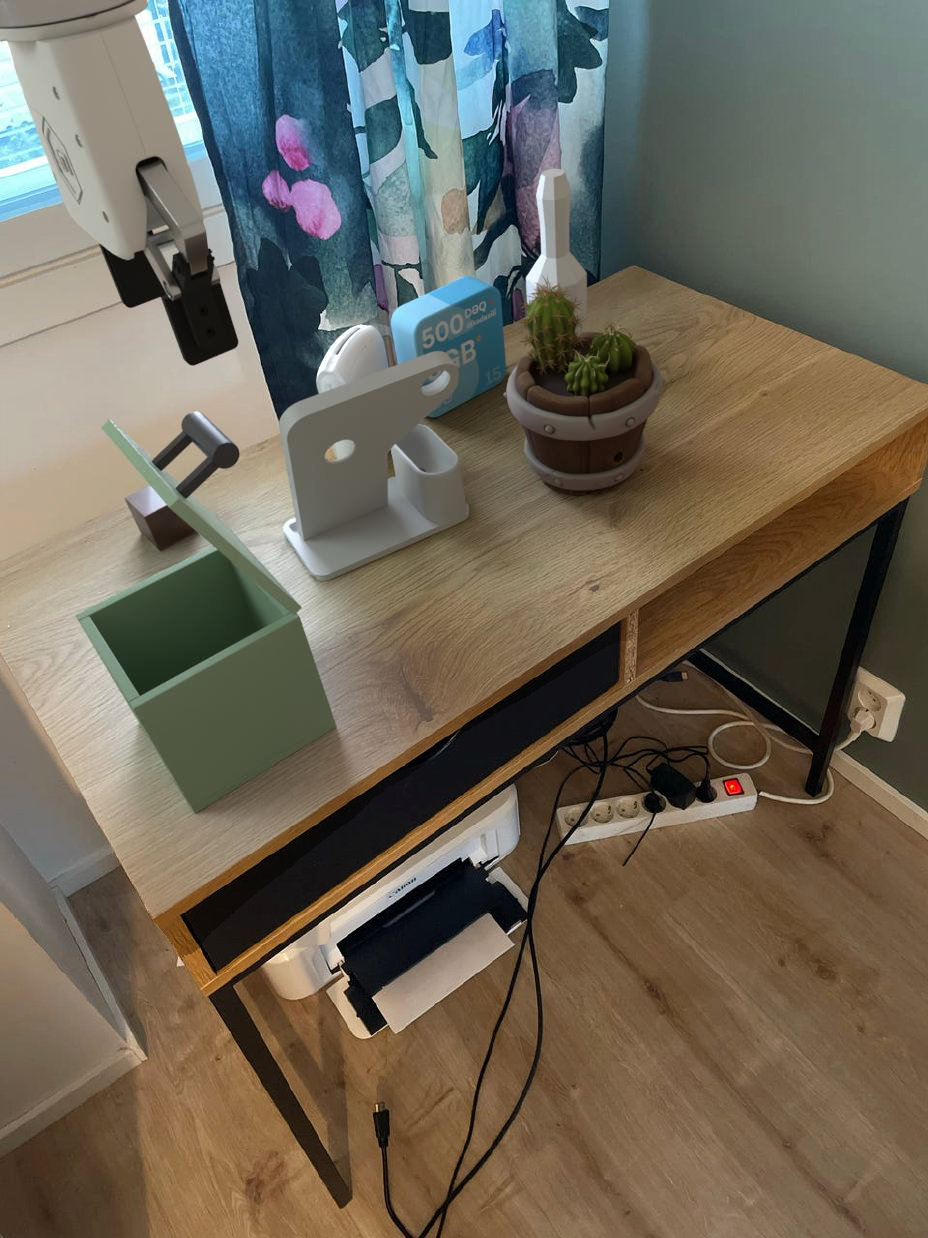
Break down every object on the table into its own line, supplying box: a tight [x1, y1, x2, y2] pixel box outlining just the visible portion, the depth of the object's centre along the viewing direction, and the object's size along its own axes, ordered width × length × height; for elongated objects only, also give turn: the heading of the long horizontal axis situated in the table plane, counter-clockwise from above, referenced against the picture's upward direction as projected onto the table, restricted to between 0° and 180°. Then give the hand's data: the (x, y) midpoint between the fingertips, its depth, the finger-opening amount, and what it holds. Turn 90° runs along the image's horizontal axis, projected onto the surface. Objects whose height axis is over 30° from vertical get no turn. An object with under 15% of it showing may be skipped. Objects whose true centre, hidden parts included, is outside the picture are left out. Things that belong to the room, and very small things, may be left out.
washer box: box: [75, 545, 337, 815], centre depth 69 cm, size 13×12×13 cm
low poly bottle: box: [525, 168, 588, 337], centre depth 99 cm, size 6×6×22 cm
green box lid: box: [100, 411, 302, 615], centre depth 61 cm, size 13×12×5 cm
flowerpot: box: [503, 275, 666, 496], centre depth 85 cm, size 14×15×20 cm
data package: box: [390, 275, 507, 418], centre depth 100 cm, size 12×4×12 cm, turn 129°
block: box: [124, 484, 197, 552], centre depth 91 cm, size 4×4×4 cm
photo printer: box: [315, 323, 390, 460], centre depth 96 cm, size 10×4×12 cm, turn 160°
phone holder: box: [278, 351, 470, 582], centre depth 83 cm, size 17×10×18 cm, turn 119°
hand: (179, 325), depth 54 cm, fingers open, 9 cm apart
